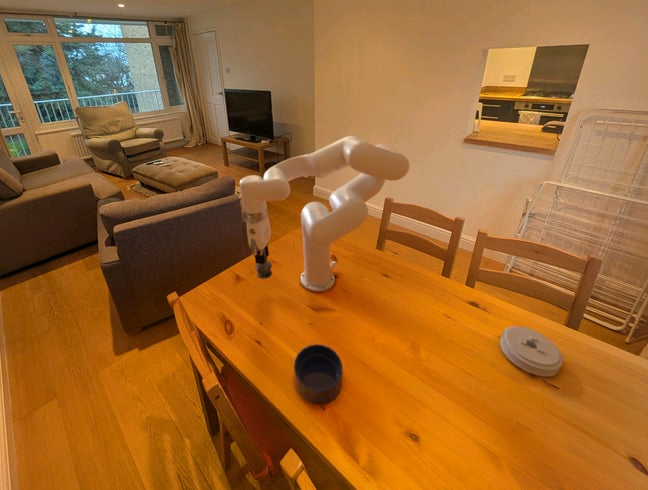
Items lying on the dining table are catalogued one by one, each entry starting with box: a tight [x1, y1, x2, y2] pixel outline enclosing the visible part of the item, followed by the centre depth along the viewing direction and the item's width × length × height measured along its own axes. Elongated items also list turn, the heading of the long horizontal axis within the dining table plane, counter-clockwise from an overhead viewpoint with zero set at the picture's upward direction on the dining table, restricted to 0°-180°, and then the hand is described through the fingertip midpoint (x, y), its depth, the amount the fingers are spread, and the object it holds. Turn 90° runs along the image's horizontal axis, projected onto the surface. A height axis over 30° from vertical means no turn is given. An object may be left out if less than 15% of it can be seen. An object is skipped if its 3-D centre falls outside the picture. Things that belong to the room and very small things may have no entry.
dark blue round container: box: [293, 344, 344, 406], centre depth 74 cm, size 12×12×6 cm
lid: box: [499, 325, 564, 378], centre depth 77 cm, size 13×13×5 cm
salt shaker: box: [254, 248, 273, 280], centre depth 102 cm, size 6×6×12 cm
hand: (262, 258), depth 102 cm, fingers closed on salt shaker, 3 cm apart
